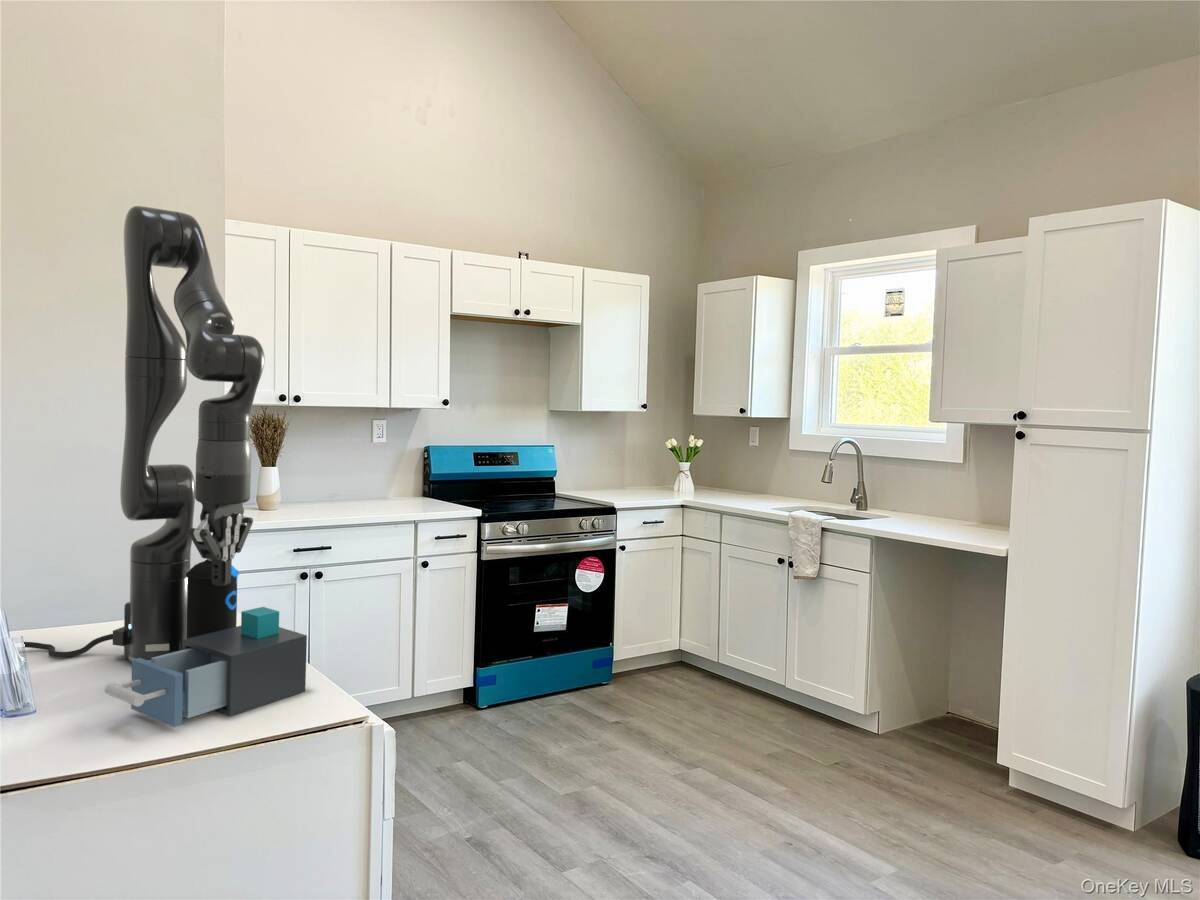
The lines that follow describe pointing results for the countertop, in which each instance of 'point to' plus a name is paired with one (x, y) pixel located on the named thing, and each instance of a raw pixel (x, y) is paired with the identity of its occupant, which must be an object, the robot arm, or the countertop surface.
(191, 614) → the aerosol can
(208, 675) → the blue drawer
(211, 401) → the robot arm
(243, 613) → the teal cube
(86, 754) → the countertop surface
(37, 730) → the countertop surface
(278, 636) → the dark grey drawer cabinet
